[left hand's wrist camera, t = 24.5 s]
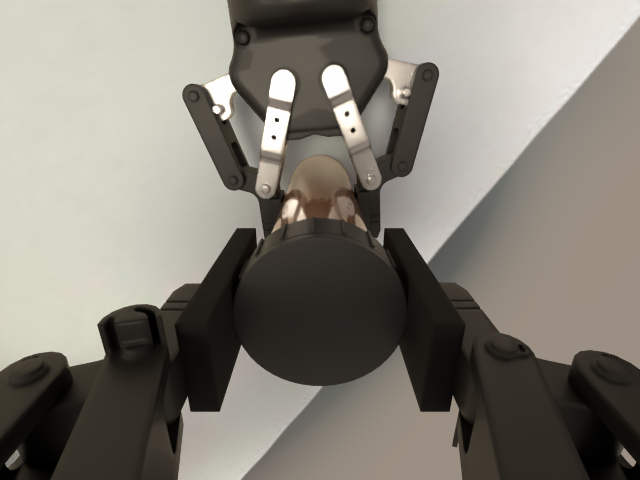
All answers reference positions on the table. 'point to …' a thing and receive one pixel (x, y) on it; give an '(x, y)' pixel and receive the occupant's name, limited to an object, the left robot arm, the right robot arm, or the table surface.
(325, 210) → the bottle
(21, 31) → the table surface
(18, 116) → the table surface
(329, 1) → the right robot arm
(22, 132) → the table surface
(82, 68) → the table surface
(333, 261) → the lid
